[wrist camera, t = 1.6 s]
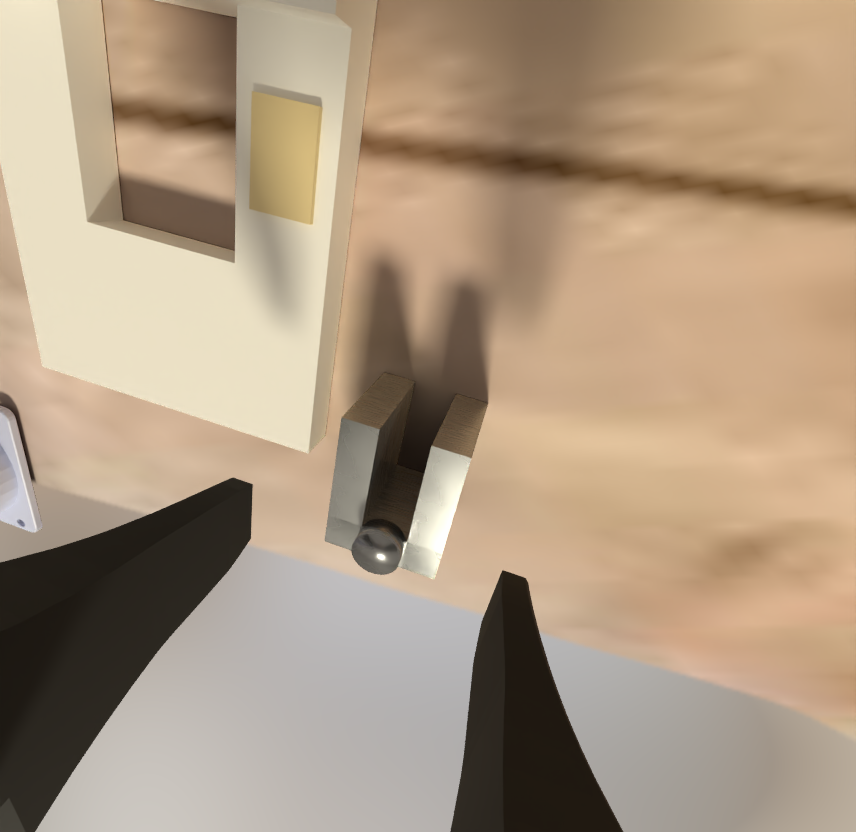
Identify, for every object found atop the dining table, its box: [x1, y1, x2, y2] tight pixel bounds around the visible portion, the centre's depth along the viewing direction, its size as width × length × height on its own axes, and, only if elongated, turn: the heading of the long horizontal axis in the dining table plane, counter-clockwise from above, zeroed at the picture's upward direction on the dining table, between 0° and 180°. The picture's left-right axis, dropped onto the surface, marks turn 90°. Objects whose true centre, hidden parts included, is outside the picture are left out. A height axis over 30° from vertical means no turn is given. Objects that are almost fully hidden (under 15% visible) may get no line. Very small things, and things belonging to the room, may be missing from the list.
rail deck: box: [0, 0, 378, 453], centre depth 15 cm, size 12×14×2 cm
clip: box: [325, 373, 488, 579], centre depth 16 cm, size 4×5×5 cm
